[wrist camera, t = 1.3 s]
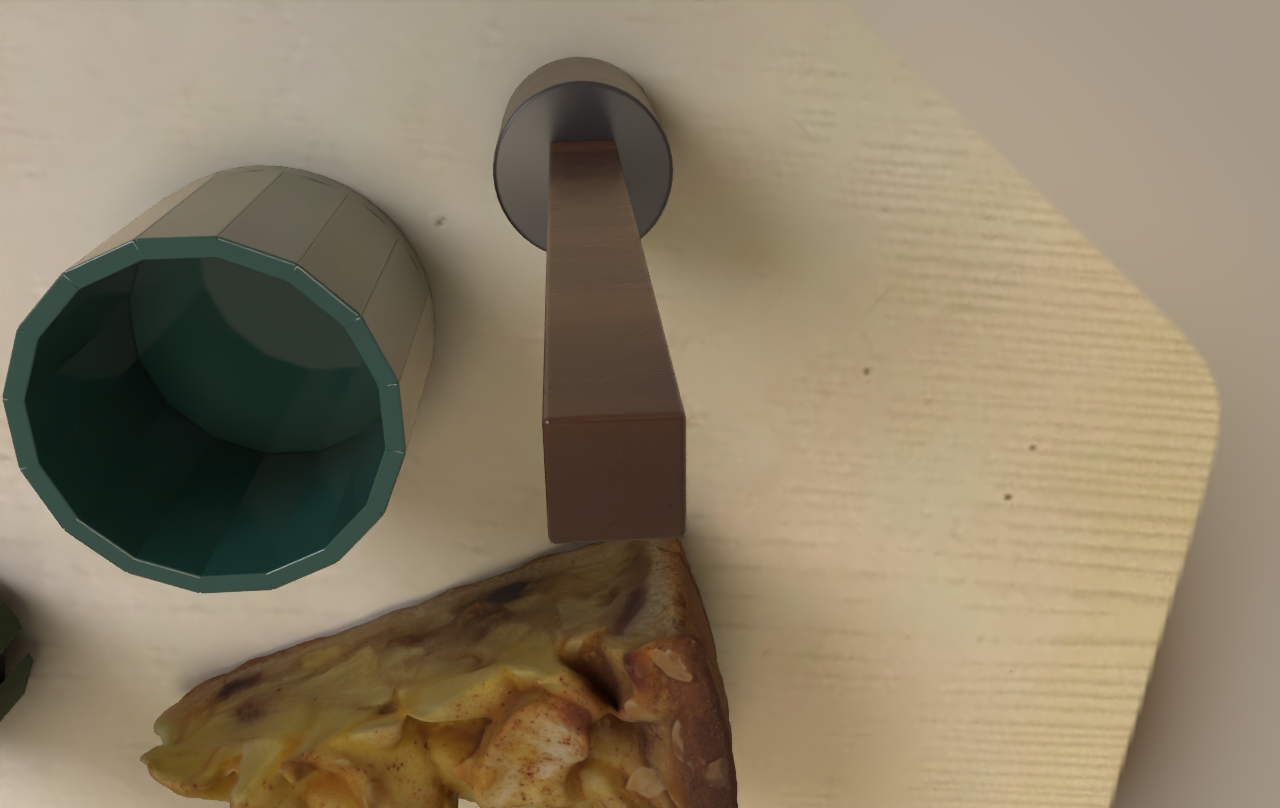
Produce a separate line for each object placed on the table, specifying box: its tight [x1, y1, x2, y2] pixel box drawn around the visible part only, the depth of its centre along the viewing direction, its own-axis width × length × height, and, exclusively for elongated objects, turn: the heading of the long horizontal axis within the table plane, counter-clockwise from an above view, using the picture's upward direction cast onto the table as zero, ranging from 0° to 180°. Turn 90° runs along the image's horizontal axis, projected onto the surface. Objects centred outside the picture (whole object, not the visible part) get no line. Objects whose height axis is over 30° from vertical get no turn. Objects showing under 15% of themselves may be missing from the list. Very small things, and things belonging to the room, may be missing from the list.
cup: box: [3, 166, 434, 593], centre depth 32 cm, size 9×9×8 cm
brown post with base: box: [493, 57, 686, 544], centre depth 24 cm, size 4×4×22 cm
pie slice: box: [140, 538, 738, 808], centre depth 36 cm, size 18×10×8 cm, turn 94°
